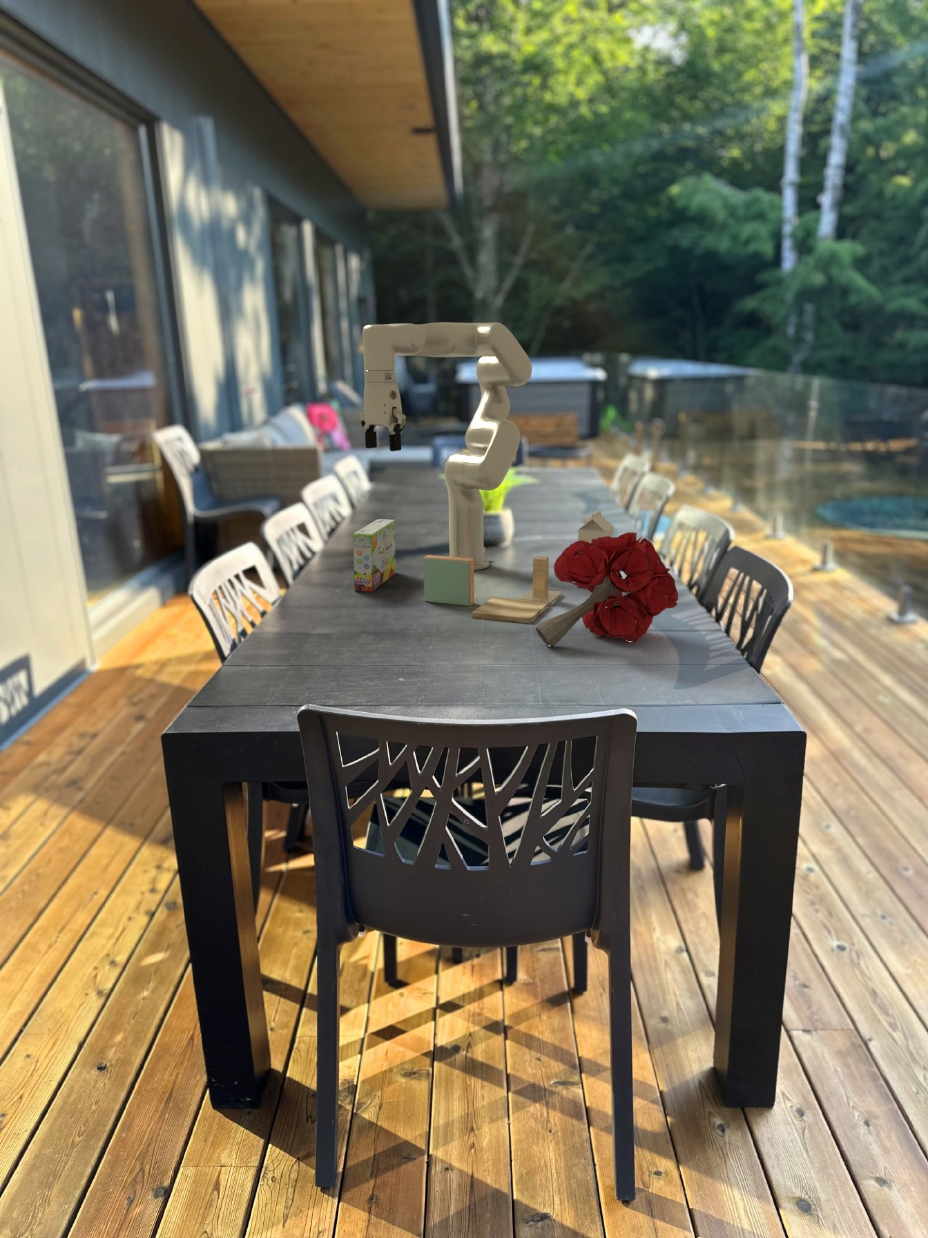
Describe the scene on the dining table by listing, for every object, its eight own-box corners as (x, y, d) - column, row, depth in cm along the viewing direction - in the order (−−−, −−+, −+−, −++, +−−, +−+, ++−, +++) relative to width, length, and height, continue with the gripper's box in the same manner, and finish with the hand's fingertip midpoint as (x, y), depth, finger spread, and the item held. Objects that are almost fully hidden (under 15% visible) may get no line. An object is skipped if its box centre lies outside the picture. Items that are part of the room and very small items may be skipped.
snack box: (374, 592, 228) (372, 533, 224) (353, 591, 230) (350, 533, 225) (397, 572, 248) (395, 518, 244) (377, 572, 249) (375, 517, 245)
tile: (428, 598, 222) (427, 554, 219) (474, 603, 218) (473, 558, 215) (423, 601, 220) (422, 557, 216) (469, 606, 215) (469, 561, 212)
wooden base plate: (493, 601, 219) (493, 596, 218) (548, 607, 213) (549, 602, 213) (471, 617, 206) (471, 612, 206) (530, 623, 201) (530, 618, 201)
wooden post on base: (531, 593, 226) (531, 552, 223) (562, 596, 223) (563, 554, 220) (518, 603, 217) (518, 561, 214) (550, 606, 214) (550, 563, 211)
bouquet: (589, 695, 177) (711, 610, 181) (531, 598, 170) (659, 510, 173) (551, 667, 198) (660, 590, 201) (497, 579, 190) (612, 501, 193)
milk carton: (611, 583, 234) (614, 510, 228) (603, 590, 227) (606, 515, 222) (585, 581, 237) (587, 509, 231) (576, 587, 230) (578, 513, 225)
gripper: (414, 377, 216) (417, 450, 221) (371, 376, 228) (374, 445, 233) (390, 379, 211) (393, 453, 216) (346, 377, 223) (350, 448, 228)
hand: (383, 449), depth 224 cm, fingers open, 9 cm apart
